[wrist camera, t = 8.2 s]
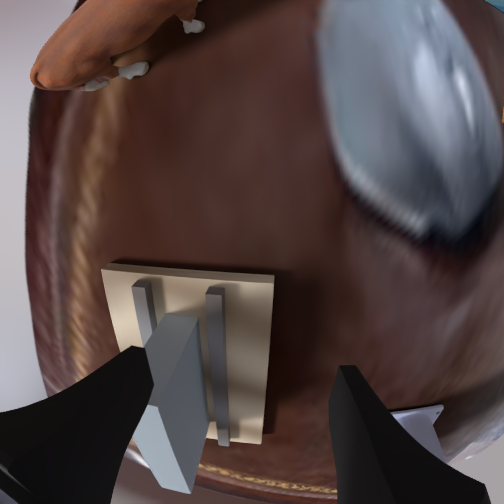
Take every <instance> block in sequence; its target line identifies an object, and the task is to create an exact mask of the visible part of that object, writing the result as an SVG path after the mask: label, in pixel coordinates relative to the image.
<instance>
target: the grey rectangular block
mask: <svg viewBox="0 0 504 504" xmlns="http://www.w3.org/2000/svg"><path fill="white" fill-rule="evenodd" d="M143 348H145V350H146V354H147V358H148V362H149V366H150V370H151V374H152V378H153V381H154V387H153V390H152V394H151V397H150V400H149V402H148V405H147V408H146V410H145V412H144V414H143V416H142V418H141V420H140V422H139V424H138V426H137V428H136V430H135V432H134V434H133V438H134V440H135V442H136V444H137V446H138V448H139V450H140V452H141V453H142V455H143V457H144V459H145V461H146V462H147V464H148V466H149V468H150V469H151V471H152V473H153V474H154V476H155V478H156V479H157V481H158V482H159V484H160V485H161V487H163V488H167V489H171V490H175V491H180V492H184V493H189V494H191V492H192V488H193V485H194V481H195V477H196V473H197V470H198V466H199V462H200V458H201V455H202V451H203V447H204V443H205V439H206V436H207V432H208V428H209V424H210V418H209V411H208V403H207V395H206V387H205V378H204V369H203V360H202V350H201V339H200V328H199V317H191V316H182V315H174V314H166V313H165V315H164V316H163V318H162V319H161V321H160V322H159V324H158V326H157V327H156V329H155V330H154V332H153V333H152V335H151V336H150V338H149V339H148V341H147V343H146V344H145V346H144V347H143Z"/></svg>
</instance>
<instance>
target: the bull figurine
mask: <svg viewBox="0 0 504 504" xmlns="http://www.w3.org/2000/svg"><path fill="white" fill-rule="evenodd" d="M201 1H203V0H87V1H86V2H85V3H84V4H83V5H82V6H81V7H80V8H79V9H78V10H76V11H75V12H74V13H73V14H72V15H71V16H69V17H68V18H67V19H66V20H65V21H64V22H63V23H62V24H61V25H60V27H59V28H58V29H57V30H56V31H55V33H54V34H53V35H52V36H51V37H50V39H49V40H48V41H47V43H45V45H44V46H43V48H42V49H41V50H40V52H39V54H38V56H37V59H36V61H35V63H34V65H33V67H32V69H31V73H30V79H31V82H32V83H33V84H34V85H35V86H36V87H38V88H40V89H45V90H81V91H94V90H97V89H101V88H103V87H106V86H107V85H109V81H108V80H109V79H112V78H115V77H127V78H128V79H132V78H133V76H137V75H140V76H142V75H144V74H145V73H147V71H148V69H149V65H148V63H147V62H140V63H135V64H132V65H129V66H126V67H116V66H113V65H112V64H111V60H110V57H112V56H114V55H117V54H120V53H123V52H126V51H128V50H131V49H133V48H135V47H137V46H138V45H140V44H142V43H143V42H145V41H146V40H147V39H148V38H150V37H151V36H152V35H153V34H154V33H155V31H156V30H157V29H158V28H159V26H160V25H161V24H162V23H163V22H164V20H166V19H167V18H169V17H170V16H172V15H173V14H174V15H176V16H178V18H179V19H180V20H181V21H183V27H184V31H185V33H187V34H188V33H189V32H194V33H199V32H201V31H203V30H204V28H205V24H204V22H202V21H198V20H194V19H193V18H194V17H195V15H196V11H195V9H196V7H197V5H198V2H201Z"/></svg>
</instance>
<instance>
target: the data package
mask: <svg viewBox="0 0 504 504" xmlns="http://www.w3.org/2000/svg"><path fill="white" fill-rule="evenodd" d="M485 1H486V2H488V3H490V4H491V5H493V6H494V7H496V8H498V9H499V10H501V11H502V12H504V0H485Z"/></svg>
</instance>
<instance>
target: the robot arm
mask: <svg viewBox="0 0 504 504" xmlns="http://www.w3.org/2000/svg"><path fill="white" fill-rule="evenodd" d="M153 387H154V381H153V378H152V374H151V370H150V366H149V362H148V358H147V354H146V350H145V348H143V347H138V346H133V345H131V346H130V347H128V348H127V349H125V350H124V351H122V352H121V353H120V354H118V355H117V356H115V357H114V358H113V359H111V360H110V361H108V362H107V363H106V364H104V365H103V366H101V367H100V368H98V369H97V370H96V371H94V372H93V373H91V374H90V375H88V376H86V377H85V378H83V379H82V380H80V381H78V382H77V383H75V384H74V385H72V386H70V387H69V388H67V389H65V390H63V391H61V392H59V393H57V394H55V395H53V396H51V397H49V398H46V399H44V400H41V401H39V402H36V403H33V404H31V405H28V406H25V407H21V408H18V409H14V410H10V411H6V412H0V504H110V503H111V498H112V493H113V489H114V486H115V482H116V478H117V475H118V471H119V468H120V465H121V462H122V459H123V456H124V453H125V451H126V449H127V446H128V444H129V442H130V440H131V438H132V436H133V434H134V432H135V430H136V428H137V426H138V424H139V422H140V420H141V418H142V416H143V414H144V412H145V410H146V408H147V405H148V402H149V400H150V397H151V394H152V390H153ZM443 409H444V407H443V405H436V406H430V407H424V408H418V409H411V410H404V411H396V412H389V410H388V409H387V408H386V407H385V405H384V404H383V403H382V401H381V400H380V399H379V398H378V396H377V395H376V394H375V392H374V391H373V389H372V388H371V387H370V385H369V384H368V382H367V381H366V380H365V378H364V377H363V375H362V374H361V372H360V371H359V369H358V368H357V367H356V366H355V365H339V368H338V372H337V375H336V379H335V382H334V386H333V389H332V392H331V395H330V399H329V425H330V432H331V438H332V445H333V451H334V458H335V465H336V472H337V504H491V502H490V498H489V495H488V492H487V489H486V486H485V484H484V483H481V482H479V481H477V480H475V479H473V478H470V477H468V476H466V475H464V474H462V473H461V472H459V471H457V470H455V469H454V468H452V467H451V466H449V465H447V463H446V460H445V457H444V454H443V451H442V448H441V446H440V443H439V440H438V437H437V435H436V432H435V430H434V427H433V424H434V422H435V421H436V419H437V418H438V416H439V415H440V413H441V412H442V410H443Z"/></svg>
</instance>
